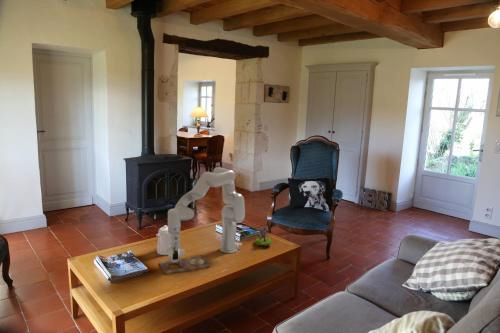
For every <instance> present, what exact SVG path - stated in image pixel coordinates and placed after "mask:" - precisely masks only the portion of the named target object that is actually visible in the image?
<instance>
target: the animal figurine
mask: <svg viewBox="0 0 500 333" xmlns="http://www.w3.org/2000/svg"><path fill="white" fill-rule="evenodd" d="M260 229H261V231H260V236H259V237H257V238H255V239H254V241H253V242H254V243H255V244H256V245H259V246H263V247H264V246H265V247H266V246H269V245H271V244H272V242H273V240H272V239H271V238H269V237H266V236H268V235H270V234H269V233H267V232H268V231H269V227H268V225H265V226H264V227H262V228H260Z"/></svg>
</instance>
